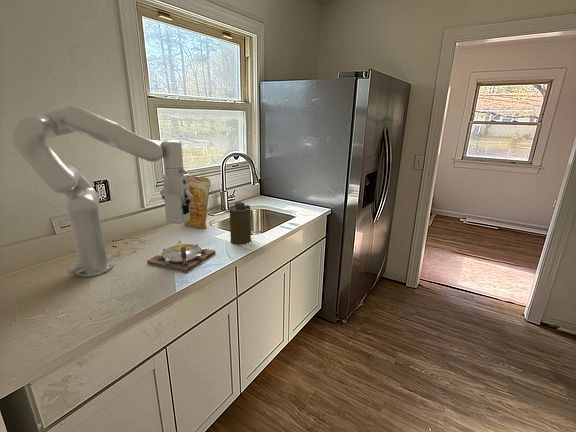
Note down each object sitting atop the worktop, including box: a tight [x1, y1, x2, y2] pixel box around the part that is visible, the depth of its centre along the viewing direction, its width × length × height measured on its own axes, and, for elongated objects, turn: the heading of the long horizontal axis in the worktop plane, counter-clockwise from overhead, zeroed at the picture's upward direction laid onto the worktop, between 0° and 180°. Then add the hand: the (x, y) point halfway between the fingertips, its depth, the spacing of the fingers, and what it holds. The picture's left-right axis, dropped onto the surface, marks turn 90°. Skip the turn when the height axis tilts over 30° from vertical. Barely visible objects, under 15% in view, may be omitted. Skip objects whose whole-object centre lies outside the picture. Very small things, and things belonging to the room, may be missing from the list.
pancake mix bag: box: [183, 175, 211, 229], centre depth 170 cm, size 7×19×28 cm, turn 64°
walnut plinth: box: [146, 240, 217, 274], centre depth 133 cm, size 20×20×4 cm
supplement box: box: [163, 193, 190, 225], centre depth 130 cm, size 7×7×13 cm
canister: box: [228, 201, 252, 246], centre depth 151 cm, size 11×10×20 cm
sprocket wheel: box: [157, 242, 206, 264], centre depth 132 cm, size 19×19×6 cm
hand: (178, 212), depth 131 cm, fingers closed on supplement box, 8 cm apart
